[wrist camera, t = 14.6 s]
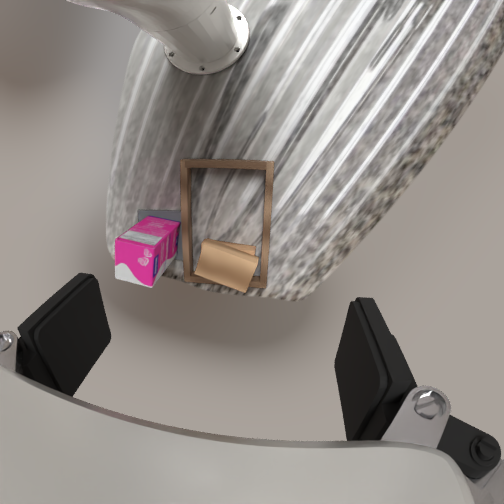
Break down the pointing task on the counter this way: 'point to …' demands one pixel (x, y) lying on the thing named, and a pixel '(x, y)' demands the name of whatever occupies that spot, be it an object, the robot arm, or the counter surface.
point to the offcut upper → (226, 265)
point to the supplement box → (146, 250)
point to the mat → (166, 215)
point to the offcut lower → (237, 246)
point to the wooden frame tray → (187, 220)
